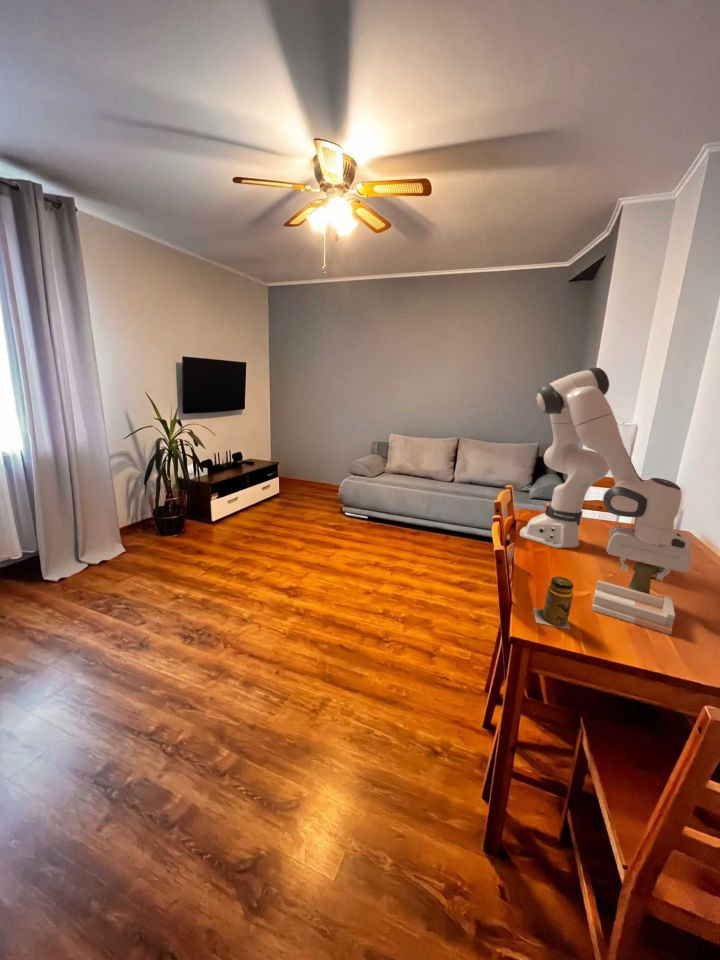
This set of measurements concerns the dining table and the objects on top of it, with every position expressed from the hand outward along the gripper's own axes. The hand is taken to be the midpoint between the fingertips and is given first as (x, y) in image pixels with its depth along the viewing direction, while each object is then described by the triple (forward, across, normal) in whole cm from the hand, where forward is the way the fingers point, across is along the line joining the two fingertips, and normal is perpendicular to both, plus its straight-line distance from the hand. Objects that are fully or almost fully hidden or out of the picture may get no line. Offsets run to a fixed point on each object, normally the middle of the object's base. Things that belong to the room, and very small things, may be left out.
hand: (641, 575), depth 116 cm
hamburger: (+7, +4, +20) cm, 22 cm away
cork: (+7, 0, 0) cm, 7 cm away
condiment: (+8, -19, -30) cm, 36 cm away
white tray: (+7, -2, -11) cm, 13 cm away
